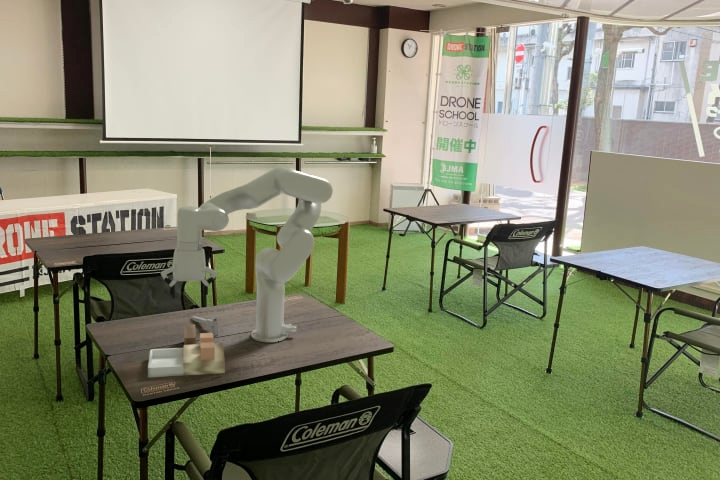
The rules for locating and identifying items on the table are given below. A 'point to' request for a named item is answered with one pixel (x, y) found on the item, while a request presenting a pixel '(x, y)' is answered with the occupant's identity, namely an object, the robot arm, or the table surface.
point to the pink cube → (206, 338)
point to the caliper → (208, 323)
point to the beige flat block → (197, 366)
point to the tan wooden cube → (207, 351)
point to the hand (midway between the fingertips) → (189, 297)
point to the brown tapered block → (189, 334)
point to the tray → (166, 362)
